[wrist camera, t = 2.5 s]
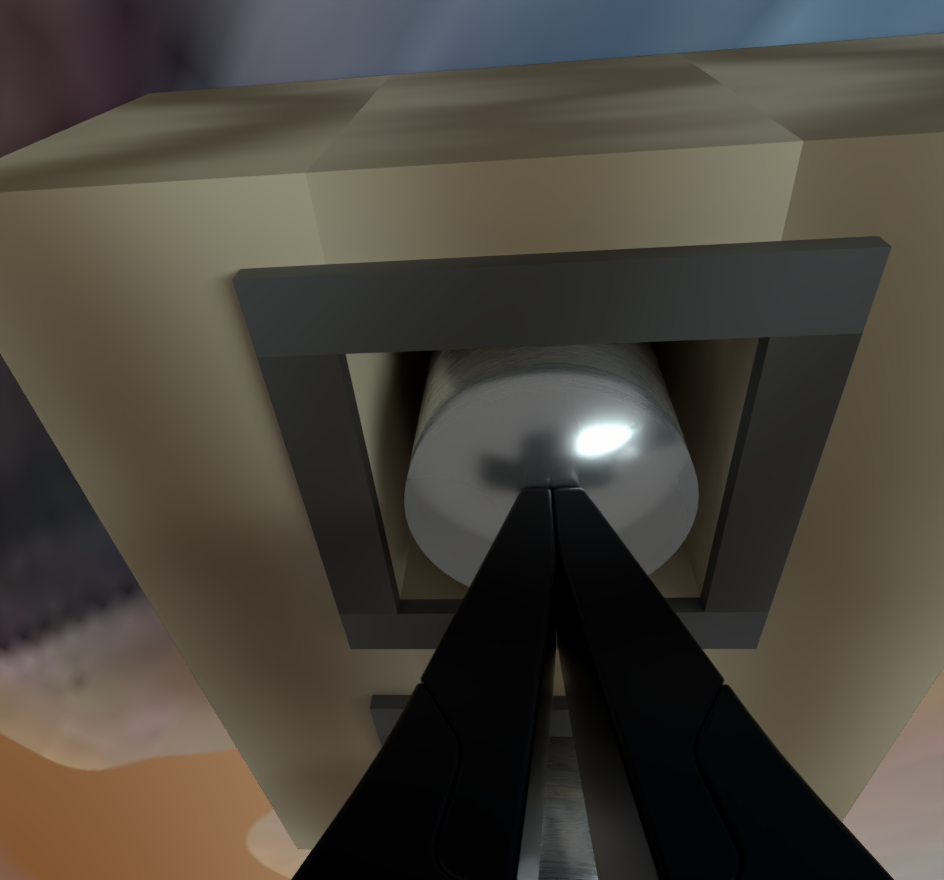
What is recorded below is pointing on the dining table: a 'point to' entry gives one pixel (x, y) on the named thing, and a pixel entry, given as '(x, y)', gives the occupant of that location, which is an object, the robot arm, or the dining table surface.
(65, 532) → the dining table surface
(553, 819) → the peg
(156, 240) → the jig block
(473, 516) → the peg
